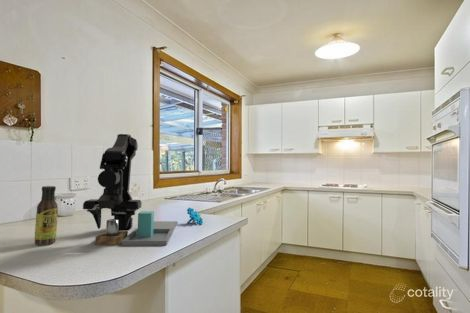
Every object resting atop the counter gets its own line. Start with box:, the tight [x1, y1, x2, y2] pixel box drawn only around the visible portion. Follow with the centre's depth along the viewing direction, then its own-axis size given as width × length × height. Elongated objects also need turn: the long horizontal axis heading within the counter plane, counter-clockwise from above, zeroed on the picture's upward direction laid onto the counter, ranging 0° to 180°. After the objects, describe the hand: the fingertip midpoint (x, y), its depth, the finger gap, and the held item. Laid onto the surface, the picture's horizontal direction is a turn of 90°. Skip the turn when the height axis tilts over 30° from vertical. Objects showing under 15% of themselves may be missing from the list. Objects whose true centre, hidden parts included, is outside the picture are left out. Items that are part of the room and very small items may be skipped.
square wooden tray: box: [94, 230, 129, 246], centre depth 100 cm, size 8×8×3 cm
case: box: [121, 220, 179, 247], centre depth 114 cm, size 15×36×2 cm, turn 6°
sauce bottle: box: [34, 185, 59, 246], centre depth 97 cm, size 6×6×20 cm
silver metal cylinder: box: [105, 218, 119, 236], centre depth 100 cm, size 4×4×8 cm
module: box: [137, 210, 155, 237], centre depth 109 cm, size 5×5×9 cm
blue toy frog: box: [186, 207, 204, 225], centre depth 133 cm, size 11×6×10 cm
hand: (112, 228), depth 100 cm, fingers open, 9 cm apart
